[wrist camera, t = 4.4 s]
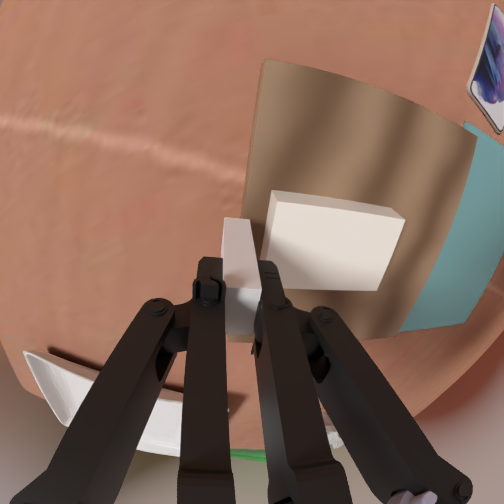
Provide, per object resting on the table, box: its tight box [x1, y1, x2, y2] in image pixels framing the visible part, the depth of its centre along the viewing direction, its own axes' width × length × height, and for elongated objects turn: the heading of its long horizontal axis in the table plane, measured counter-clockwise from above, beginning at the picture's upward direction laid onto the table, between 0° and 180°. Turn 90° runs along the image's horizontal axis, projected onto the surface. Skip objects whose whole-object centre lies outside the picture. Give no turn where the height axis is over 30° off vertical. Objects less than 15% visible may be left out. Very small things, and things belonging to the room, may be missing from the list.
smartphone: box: [467, 3, 504, 133], centre depth 12 cm, size 7×1×15 cm
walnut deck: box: [228, 59, 478, 343], centre depth 20 cm, size 18×22×2 cm
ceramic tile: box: [260, 190, 405, 291], centre depth 18 cm, size 9×6×2 cm, turn 82°
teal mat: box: [398, 122, 504, 332], centre depth 23 cm, size 16×24×1 cm, turn 172°
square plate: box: [23, 350, 229, 457], centre depth 33 cm, size 27×27×4 cm
